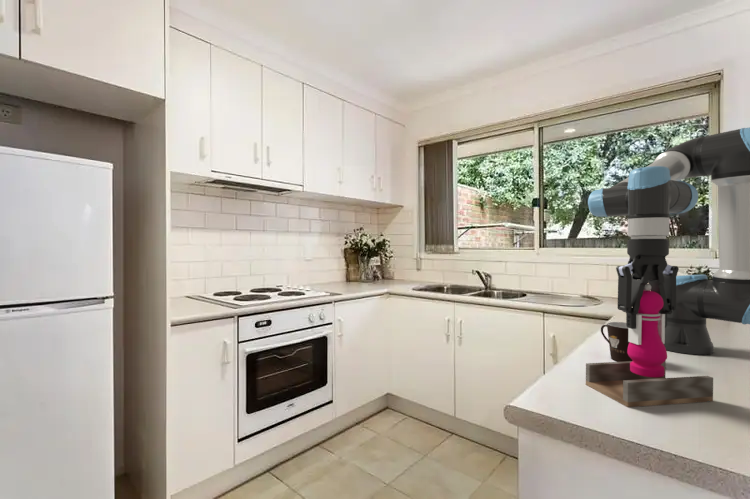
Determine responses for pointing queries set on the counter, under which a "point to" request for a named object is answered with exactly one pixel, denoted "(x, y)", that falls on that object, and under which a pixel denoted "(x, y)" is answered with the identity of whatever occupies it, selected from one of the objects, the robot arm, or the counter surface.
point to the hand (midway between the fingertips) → (646, 342)
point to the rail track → (646, 386)
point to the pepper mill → (648, 338)
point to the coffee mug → (617, 340)
